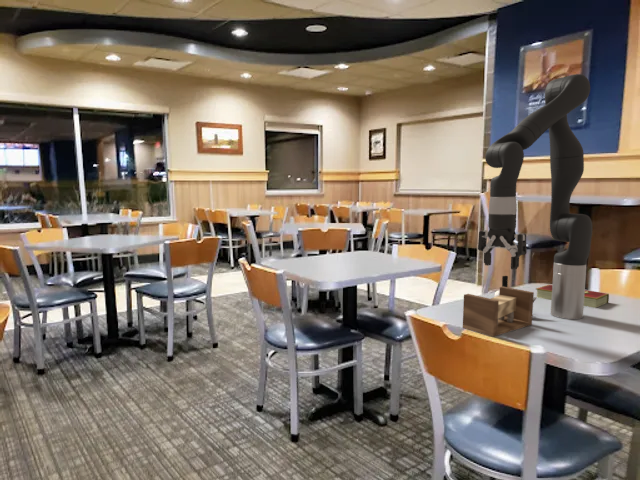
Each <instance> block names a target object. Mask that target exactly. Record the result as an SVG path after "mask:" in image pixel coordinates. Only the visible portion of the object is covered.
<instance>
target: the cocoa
mask: <svg viewBox="0 0 640 480" xmlns="http://www.w3.org/2000/svg"><path fill="white" fill-rule="evenodd" d="M501 277H502V279H501V287H509V285H508V280H509V276H508V275H502V276H501ZM499 293H500V289H499V290H497V291H495V293H494V294H493V295H494V296H493V298H494V297H496V296H499Z"/></svg>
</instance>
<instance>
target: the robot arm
mask: <svg viewBox="0 0 640 480" xmlns="http://www.w3.org/2000/svg"><path fill="white" fill-rule="evenodd" d="M544 91H545V92H544V105H543V106H542V107H540V108H538V109H536V110H535V111H533V112H531V113H530V114H528V115H527V116H525V118H523V119H522V121H520V122H519V123H518V124H516V126H515V127H514V128H513V129H512V130H511V131H509V132H508V133H506V134H504V135H503V136H501V137H500V138H498V139H497V140H496V141H494V142H493V143H492V144H491V145H490V146H489V147H488V148H487V150H486V152H485V162H486V164H487V165H488V166H489V167H490V168H494V169H501V170H500V173H499V175H497V176H496V175H495V176H493V177H492V178H491V180H490V185H489V186H490V187H489V201H488V221H487V223H488V224H487V226H488V230H480V231H479V232H478V242H477V250H478V251H481V252H482V253H483V263H484V265H485V266H491V265H492V250H493V249H494V248H496V247H498V248H499V247H500V248H503V249H506V250H507V251H509V253H510V255H511V257H510V269H511V271H512V270H514V271H515V270H517V269H518V268H519V267H520V256H523V255H527V234H526V233H516V228H517V211H518V210H517V205H518V204H517V203H518V202H517V182H518V179H519V177H520V173H521V170H522V166H523V163H524V157H525V152H524V151H525V150H527V149H529V148H530V147H531V146H532V145H533V144H534V143H535V142H537V140H538V139H540V137H541V136H542V135H544V133H546V131H548V135H549V136H548V137H549V156H550V157H549V161H550V162H549V163H550V164H549V165H550V178H551V179H550V180H551V181H550V182H551V183H550V185H551V189H550V190H551V193H550V195H551V199H550V200H551V201H550V214H549V215H550V217H549V232H550V234H551V238H553V239H554V241H558V242H564V243H568V247H567V249H566V250H563V251H560V252H556V253H555V254H554V256H553V270H552V271H553V272H552V284H551V285H552V300H550V301H551V304H550V315H551V316H554V317H556V318H557V317H558V318H562V319H567V320H568V319H569V320H580V319H583V317H584V308H585V306H584V294H585V290H586V278H587V264H588V263H587V261H588V258H589V256H590V252H591V251H590V250H591V245H592V244H591V243H592V237H593V222H592V219H591V217H590V216H589V215H587V214H585V213H584V214H583V213H571V211H570V205H571V204H570V202H571V197H572V194H573V193H574V190H575V189H576V187H577V185H578V184H579V182H580V180H581V178H582V176H583V174H584V169H585V162H584V161H585V157H584V154H585V153H584V148H583V145H582V144H581V143H580V140H579V139H578V137H577V136H576V134H574V132H573V131H572V129H571V127H570V125H569V122H568V114H569V113H570V112H572V111H573V110H575V109H576V108H578V107H579V106H581V105H582V104H583V103H585V102H586V101H587V99H588V97H589V96H590V93H591V84H590V81H589V79H588V77H587V76H586V75H584V74H581V73H580V74H579V73H578V74H577V73H576V74H571V75H567V76H563V77H559V78H555V79H553V80H550V81H549V82H548V83H547V85H546V87H545V89H544ZM487 239H489V240H488V242H487ZM515 240H516V242H517V244H516V242H515Z"/></svg>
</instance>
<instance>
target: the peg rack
mask: <svg viewBox="0 0 640 480" xmlns="http://www.w3.org/2000/svg"><path fill="white" fill-rule="evenodd" d="M499 290H500V293H499V295H503V296H509V297H515V298H516V311H514V312H512V313H509V314H507V315H505V316H503V317H501V318H498V303H499V301H498V300H494V299H491V298H489V297H484V296H480V295H475V294H472V293H467V294H466V293H465V294H463V306H462V307H463V309H462V328H463V329H466V330H469V331H472V330H473V332H475V331H476V332H475V333H479V334H482V333H483V334H482V335H485V334H486V335H485V336H489V337H492V338H493V337H494V338H495V337H496V336H500V335H504V334H507V333H509V332H513V331H516V330H519V329H522V328H525V327H529V326H532V324H533V312H534V311H533V310H534V309H533V308H534V303H533V298H534V296H535V295H534V294H535V293H534V291H530V290H529V291H528V290H523V289H520V288H519V289H518V288H514V287H509V286H508V287H502V286H500V287H499Z"/></svg>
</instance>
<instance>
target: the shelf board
mask: <svg viewBox="0 0 640 480" xmlns="http://www.w3.org/2000/svg"><path fill="white" fill-rule="evenodd" d="M490 299H494V300H498V301H499V303H498V318H501V317H503V316H505V315H507V314H509V313H512V312H514V311H516V298H515V297H509V296H503V295H499V296H496V297H494V296H493V297H491V298H490Z"/></svg>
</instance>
